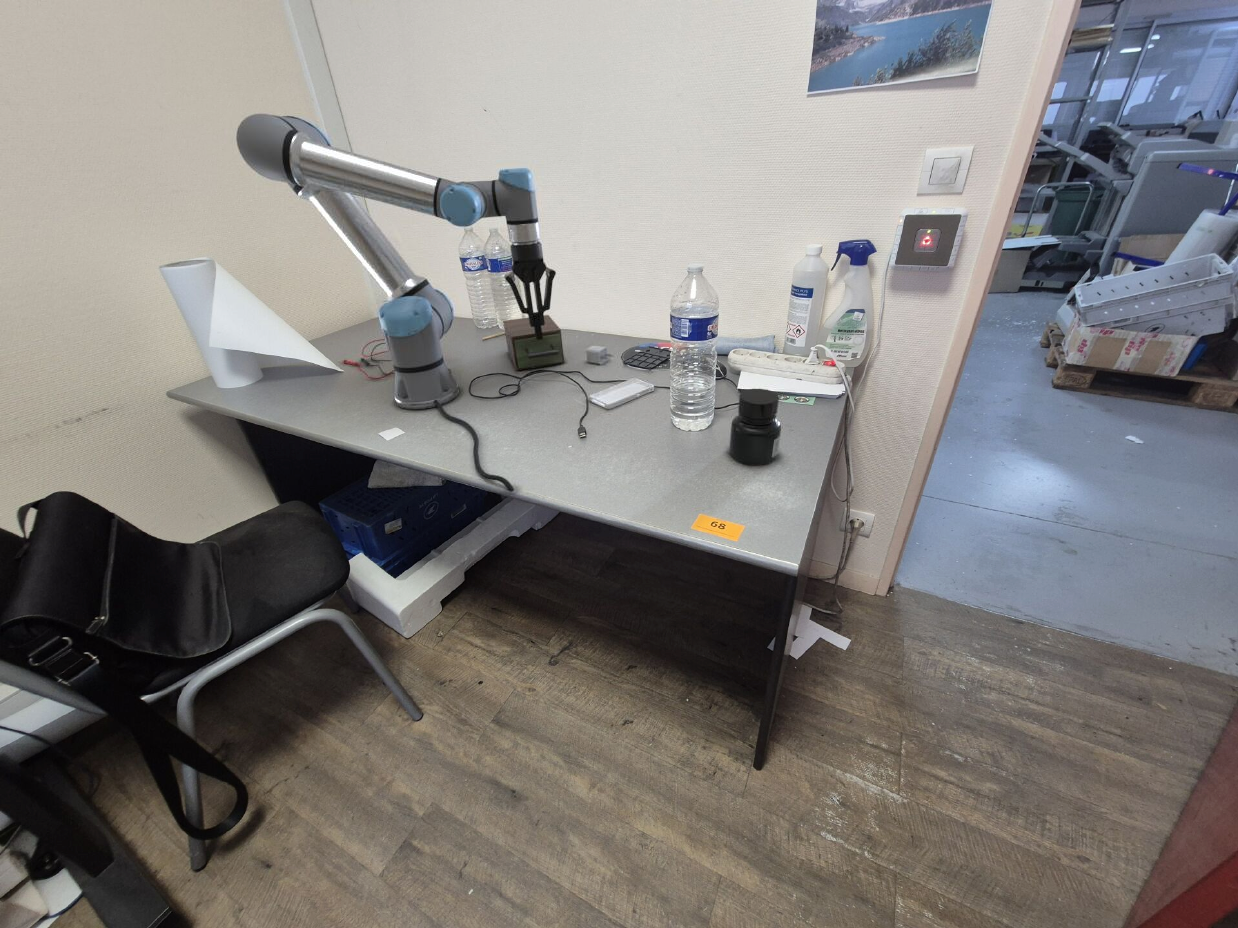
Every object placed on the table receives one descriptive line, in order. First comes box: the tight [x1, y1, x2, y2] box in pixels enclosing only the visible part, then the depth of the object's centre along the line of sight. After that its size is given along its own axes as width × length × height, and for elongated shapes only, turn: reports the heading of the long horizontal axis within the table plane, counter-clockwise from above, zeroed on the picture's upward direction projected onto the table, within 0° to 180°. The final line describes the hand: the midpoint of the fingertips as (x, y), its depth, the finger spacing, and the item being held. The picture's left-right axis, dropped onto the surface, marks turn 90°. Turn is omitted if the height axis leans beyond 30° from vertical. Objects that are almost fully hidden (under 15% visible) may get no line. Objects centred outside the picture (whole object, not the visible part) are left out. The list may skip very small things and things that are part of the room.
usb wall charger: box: [585, 345, 613, 365], centre depth 140 cm, size 4×7×4 cm, turn 60°
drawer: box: [514, 333, 563, 369], centre depth 141 cm, size 22×12×8 cm, turn 19°
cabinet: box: [502, 314, 565, 372], centre depth 145 cm, size 17×14×10 cm
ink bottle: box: [729, 388, 782, 466], centre depth 92 cm, size 10×9×12 cm
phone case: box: [588, 377, 655, 410], centre depth 121 cm, size 7×1×15 cm
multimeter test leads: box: [339, 338, 395, 380], centre depth 149 cm, size 23×4×25 cm
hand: (539, 338), depth 134 cm, fingers closed
